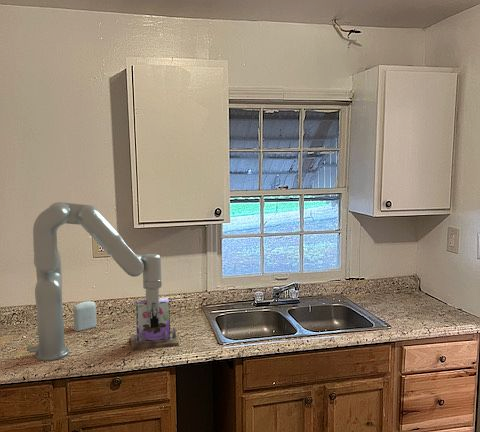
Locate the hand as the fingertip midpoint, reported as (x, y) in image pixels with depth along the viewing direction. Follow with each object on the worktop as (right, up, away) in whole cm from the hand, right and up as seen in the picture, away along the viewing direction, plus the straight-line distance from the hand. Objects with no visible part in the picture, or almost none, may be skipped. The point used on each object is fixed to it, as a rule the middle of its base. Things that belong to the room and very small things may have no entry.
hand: (153, 323), depth 205 cm
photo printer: (-34, -6, +18) cm, 39 cm away
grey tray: (0, -8, +1) cm, 8 cm away
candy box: (0, -7, +1) cm, 7 cm away
